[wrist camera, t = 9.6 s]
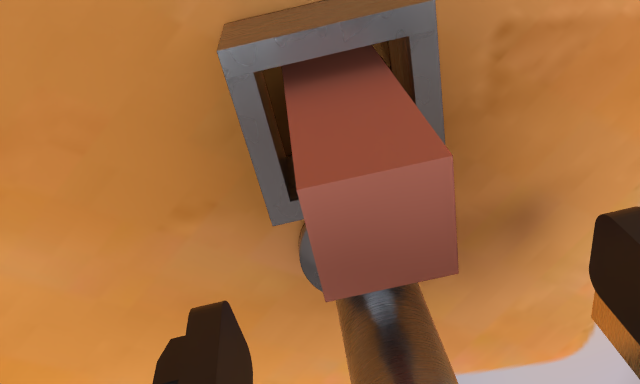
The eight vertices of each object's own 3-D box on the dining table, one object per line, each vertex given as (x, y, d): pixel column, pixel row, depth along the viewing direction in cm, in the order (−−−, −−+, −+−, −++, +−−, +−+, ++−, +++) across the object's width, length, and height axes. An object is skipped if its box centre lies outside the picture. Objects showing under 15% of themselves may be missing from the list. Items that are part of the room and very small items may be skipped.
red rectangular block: (280, 57, 21) (296, 190, 12) (366, 38, 21) (452, 155, 11) (299, 135, 23) (325, 302, 14) (377, 118, 23) (458, 273, 14)
